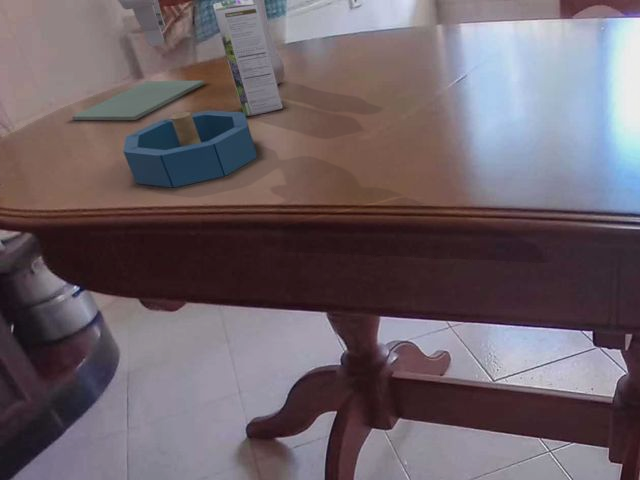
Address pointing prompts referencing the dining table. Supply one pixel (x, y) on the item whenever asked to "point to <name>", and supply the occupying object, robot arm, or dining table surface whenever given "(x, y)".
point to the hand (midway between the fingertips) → (158, 37)
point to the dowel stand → (185, 128)
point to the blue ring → (190, 150)
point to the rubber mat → (138, 100)
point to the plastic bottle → (270, 43)
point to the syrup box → (248, 56)
